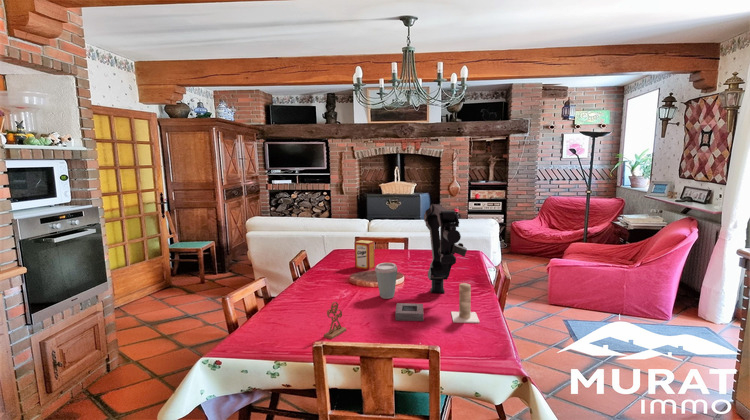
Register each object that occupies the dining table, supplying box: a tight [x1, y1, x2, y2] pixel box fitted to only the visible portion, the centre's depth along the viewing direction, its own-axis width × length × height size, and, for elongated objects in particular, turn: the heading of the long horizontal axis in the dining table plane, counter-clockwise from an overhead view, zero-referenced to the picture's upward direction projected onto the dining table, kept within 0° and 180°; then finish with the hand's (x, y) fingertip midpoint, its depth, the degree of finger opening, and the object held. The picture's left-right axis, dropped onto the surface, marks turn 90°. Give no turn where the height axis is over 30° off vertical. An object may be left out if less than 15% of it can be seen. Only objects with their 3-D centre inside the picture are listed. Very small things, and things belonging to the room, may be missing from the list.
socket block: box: [394, 302, 425, 322], centre depth 164 cm, size 11×11×3 cm
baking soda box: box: [354, 239, 376, 271], centre depth 235 cm, size 10×6×16 cm
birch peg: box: [458, 282, 472, 319], centre depth 160 cm, size 4×4×13 cm
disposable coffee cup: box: [374, 262, 398, 299], centre depth 186 cm, size 11×11×15 cm
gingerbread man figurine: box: [323, 301, 347, 340], centre depth 147 cm, size 9×4×12 cm, turn 147°
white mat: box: [450, 311, 480, 324], centre depth 161 cm, size 10×10×1 cm
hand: (446, 273), depth 176 cm, fingers open, 9 cm apart
